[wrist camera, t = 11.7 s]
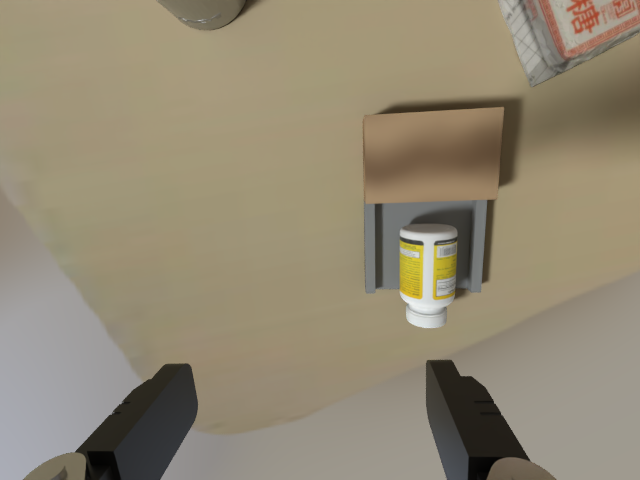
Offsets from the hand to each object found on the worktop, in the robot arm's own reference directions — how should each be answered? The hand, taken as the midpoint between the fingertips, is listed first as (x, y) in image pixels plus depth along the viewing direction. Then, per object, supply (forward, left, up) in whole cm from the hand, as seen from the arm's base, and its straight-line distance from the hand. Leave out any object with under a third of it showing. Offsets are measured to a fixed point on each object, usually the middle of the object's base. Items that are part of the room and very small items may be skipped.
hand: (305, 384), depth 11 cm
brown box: (-7, +9, -26) cm, 28 cm away
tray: (+2, +9, -26) cm, 27 cm away
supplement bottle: (-1, +9, -23) cm, 24 cm away
